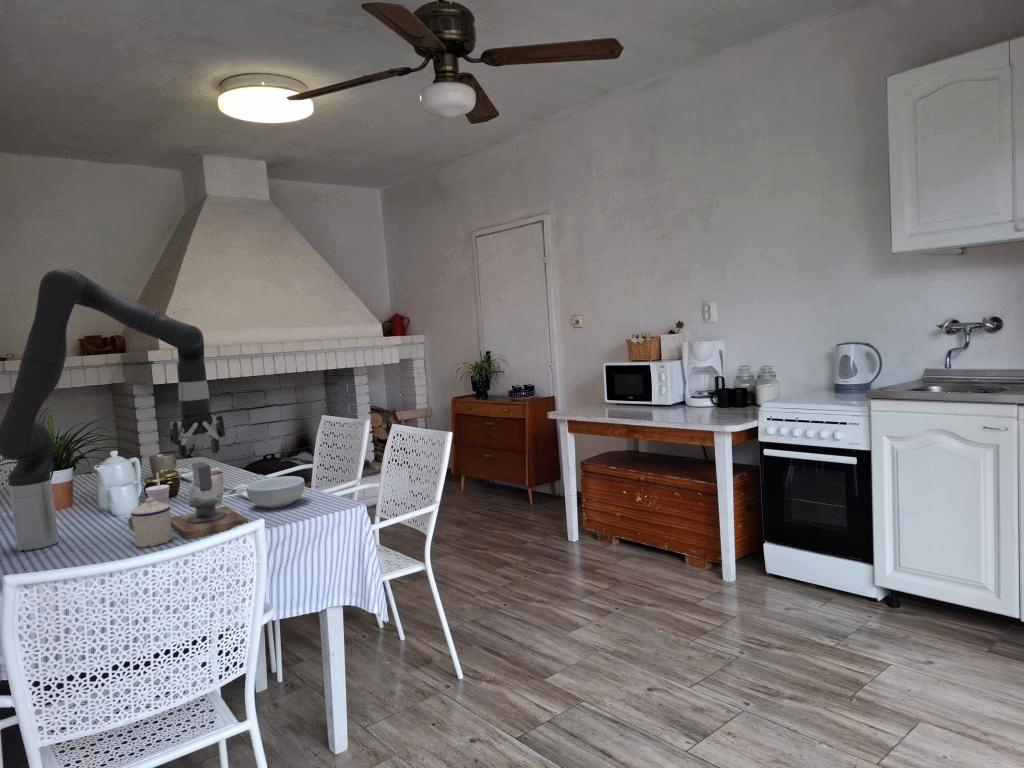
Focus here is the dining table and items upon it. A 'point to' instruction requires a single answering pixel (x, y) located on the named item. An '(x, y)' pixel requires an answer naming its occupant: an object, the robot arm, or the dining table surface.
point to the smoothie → (158, 492)
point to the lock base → (206, 521)
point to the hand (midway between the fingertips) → (200, 455)
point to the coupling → (203, 487)
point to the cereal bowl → (276, 491)
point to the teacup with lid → (151, 523)
